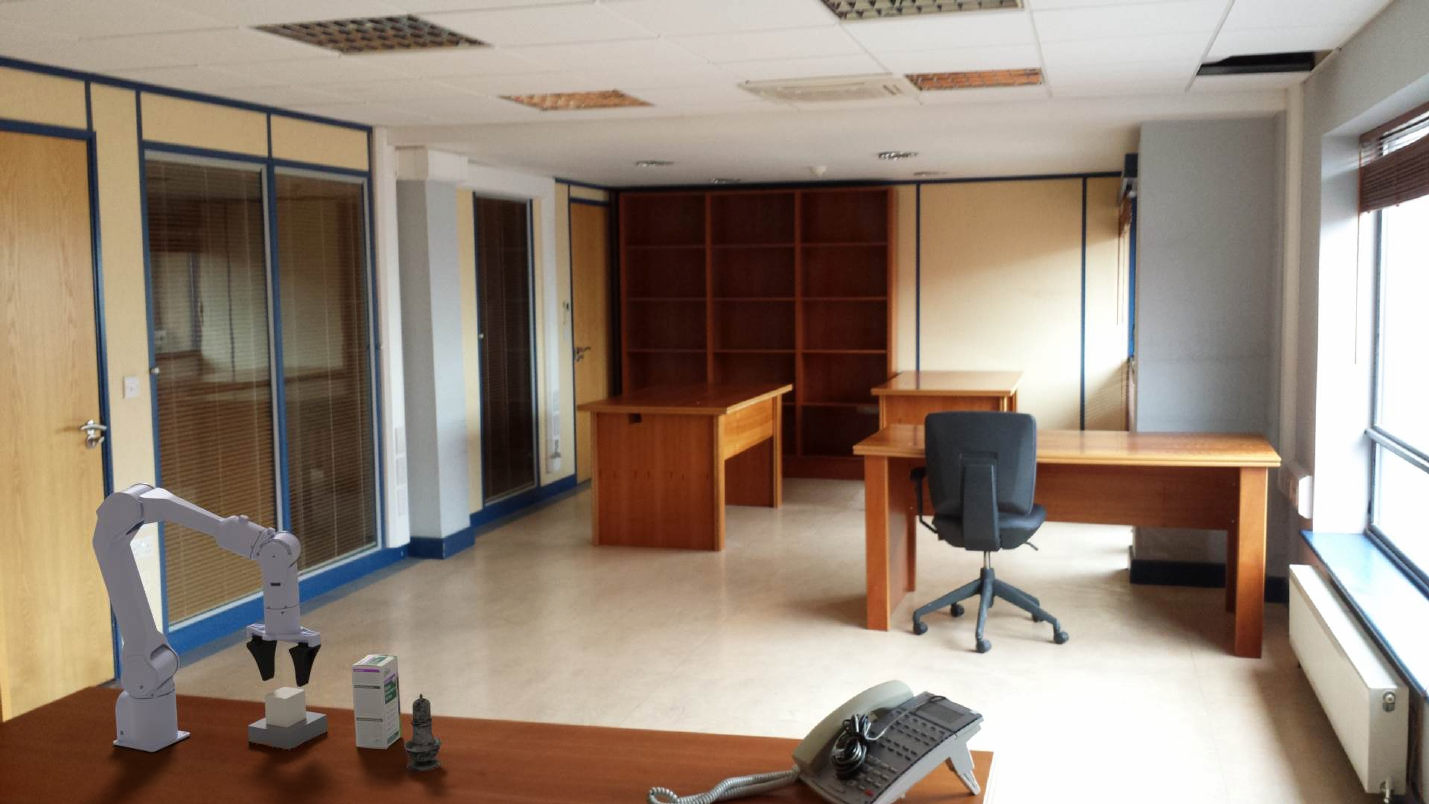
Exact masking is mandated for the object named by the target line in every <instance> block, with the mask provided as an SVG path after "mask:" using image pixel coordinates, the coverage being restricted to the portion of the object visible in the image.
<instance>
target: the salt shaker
mask: <svg viewBox="0 0 1429 804" xmlns="http://www.w3.org/2000/svg"><path fill="white" fill-rule="evenodd" d="M411 708H412V719H411V720H410V725H412V737H411V739H410V740H408V741H406V742H405V743H404V745H403V747H404V749H405V750H406V755H407V756H408V758H409V759H411V761H409V762H408V763H407V765H406V769H407V770H409V771H411V772H415V773H424V772H429V771H433V770H435V769H437V768H439V767H440V765H441V761H440V760H439V759H438V758H437V755H438V754H439V751H440V749H441V748H440V747H441V745H442V740H441V739H440V738H437V737H435V736H434V734H433V728H432V726H433V725H432V723H433V722H434V718H432V714H431V712H432V711H431V701H430V700H429V698H428V699H427V698H425V697H424V695H423V694H422V693H420V694H419V696H418V698H417V699H415V700H414V701H413V702H412V707H411Z"/></svg>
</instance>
